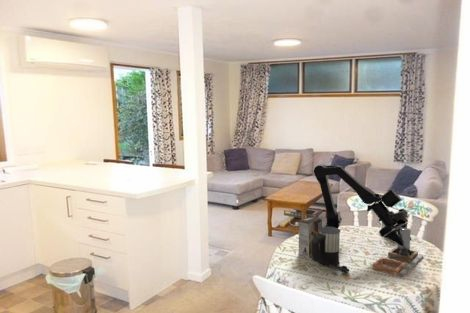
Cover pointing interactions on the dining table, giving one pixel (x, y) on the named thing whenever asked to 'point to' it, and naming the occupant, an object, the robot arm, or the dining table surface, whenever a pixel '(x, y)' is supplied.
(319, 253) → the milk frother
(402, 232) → the grey peg
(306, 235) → the coffee box
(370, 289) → the dining table surface
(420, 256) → the socket rail
